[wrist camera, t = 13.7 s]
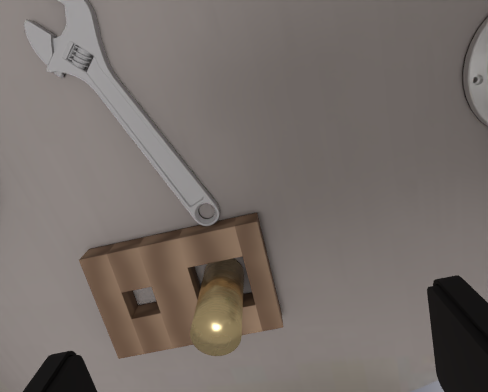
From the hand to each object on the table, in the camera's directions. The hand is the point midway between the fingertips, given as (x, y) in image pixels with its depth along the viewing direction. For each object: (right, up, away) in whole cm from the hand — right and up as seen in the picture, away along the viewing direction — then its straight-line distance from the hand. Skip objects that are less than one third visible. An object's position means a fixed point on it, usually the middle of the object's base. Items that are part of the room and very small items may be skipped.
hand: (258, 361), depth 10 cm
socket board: (-6, -5, +31) cm, 32 cm away
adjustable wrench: (-11, +12, +27) cm, 31 cm away
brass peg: (-3, -4, +31) cm, 31 cm away
